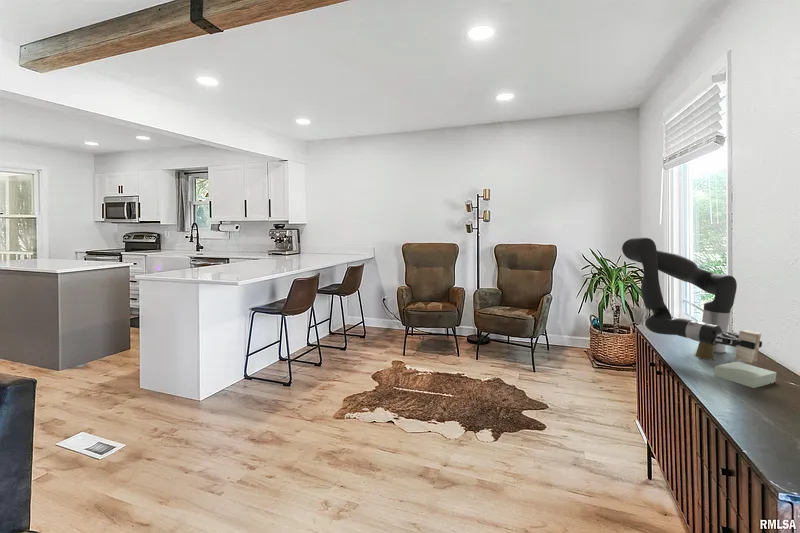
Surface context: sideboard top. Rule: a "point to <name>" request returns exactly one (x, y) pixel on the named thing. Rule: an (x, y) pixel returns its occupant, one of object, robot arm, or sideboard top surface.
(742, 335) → the maple block
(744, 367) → the sage block
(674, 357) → the sideboard top surface
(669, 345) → the sideboard top surface
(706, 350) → the brown rounded piece
